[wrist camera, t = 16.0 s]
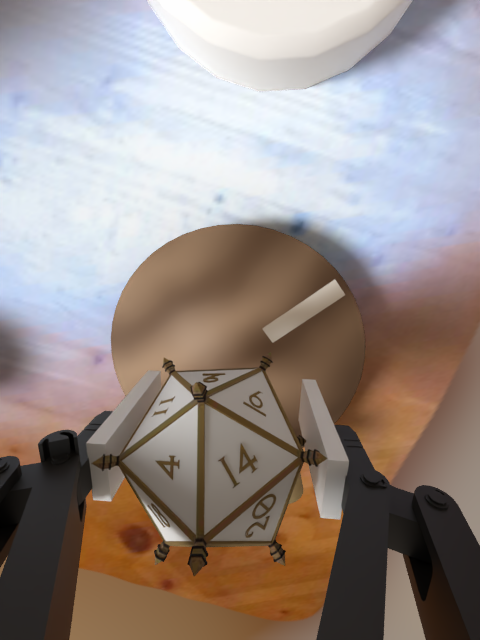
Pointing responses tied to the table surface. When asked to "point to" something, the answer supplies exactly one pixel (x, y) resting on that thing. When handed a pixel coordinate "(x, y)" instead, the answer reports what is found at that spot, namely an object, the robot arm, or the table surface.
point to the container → (278, 37)
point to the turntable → (242, 316)
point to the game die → (214, 461)
